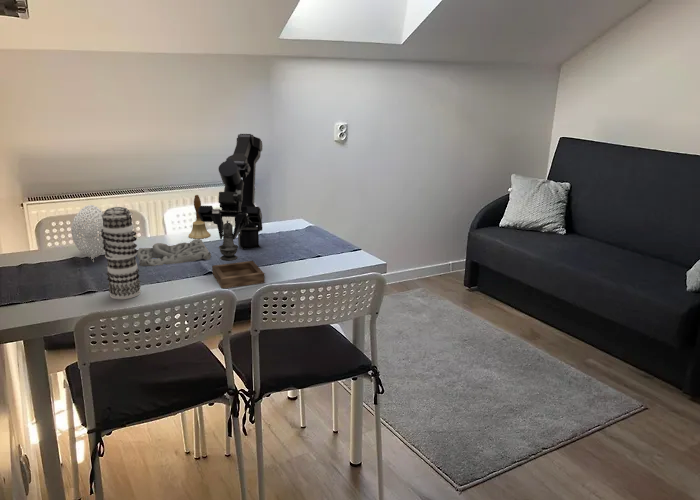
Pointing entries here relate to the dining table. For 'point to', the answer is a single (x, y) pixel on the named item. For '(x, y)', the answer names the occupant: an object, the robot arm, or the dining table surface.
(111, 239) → the decorative candle
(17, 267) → the dining table surface
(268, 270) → the dining table surface
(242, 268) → the walnut tray
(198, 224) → the hand bell
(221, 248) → the stone chess piece
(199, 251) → the wall plaque
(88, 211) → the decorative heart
